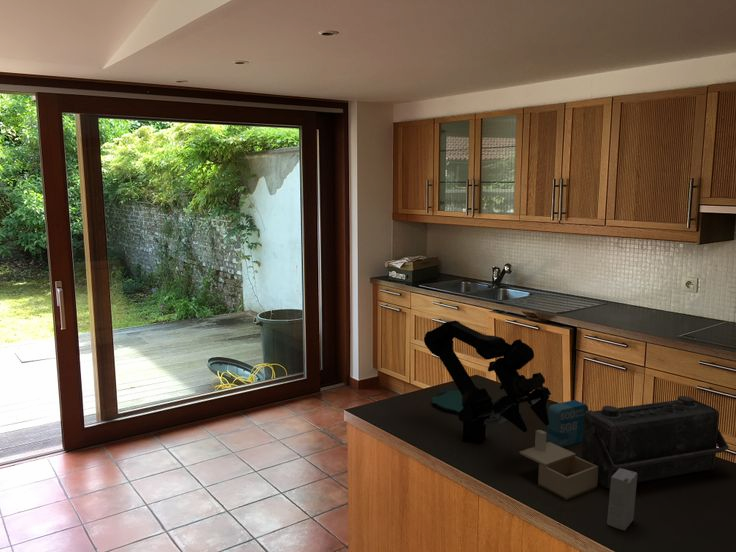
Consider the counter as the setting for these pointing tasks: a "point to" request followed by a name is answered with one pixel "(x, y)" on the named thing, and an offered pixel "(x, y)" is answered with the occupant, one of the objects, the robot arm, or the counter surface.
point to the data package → (566, 423)
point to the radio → (652, 439)
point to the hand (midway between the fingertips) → (537, 428)
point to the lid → (546, 451)
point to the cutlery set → (455, 403)
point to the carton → (568, 477)
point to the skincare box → (622, 499)
